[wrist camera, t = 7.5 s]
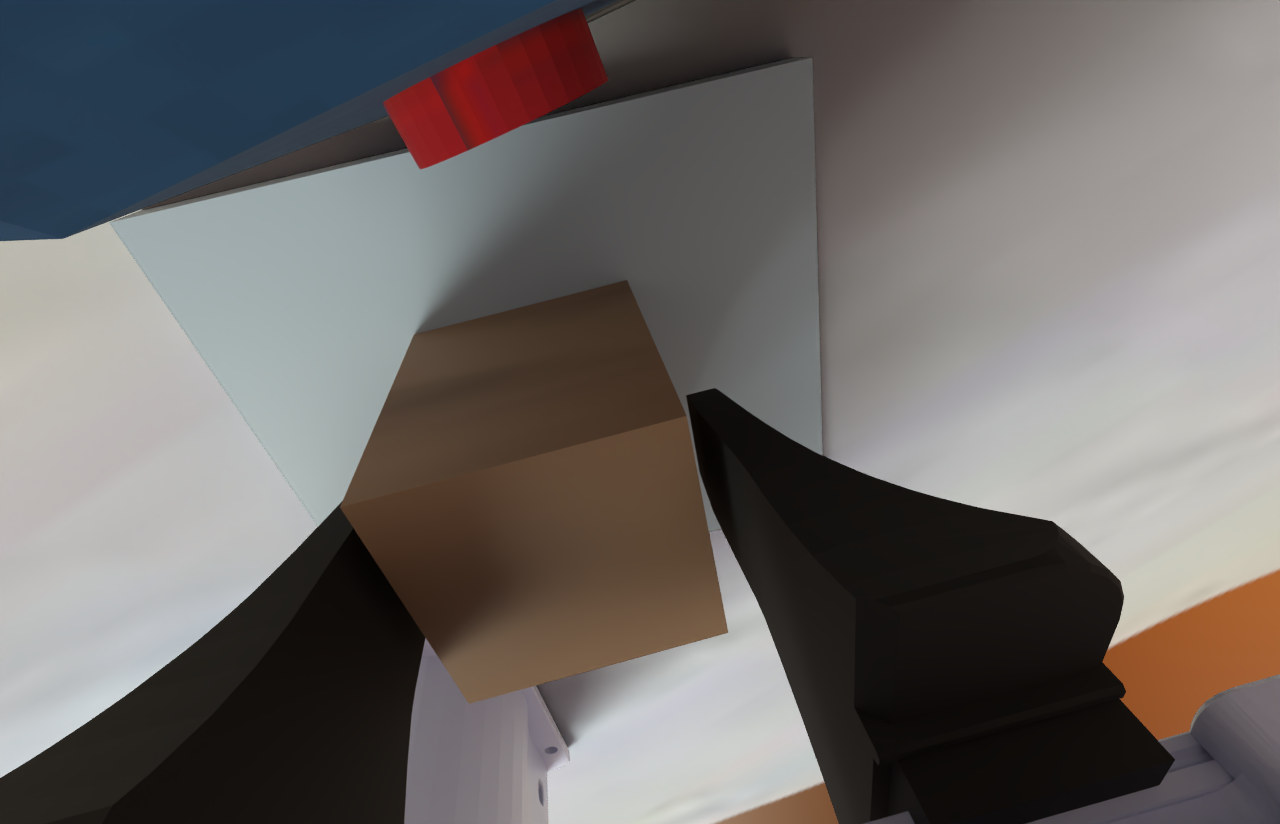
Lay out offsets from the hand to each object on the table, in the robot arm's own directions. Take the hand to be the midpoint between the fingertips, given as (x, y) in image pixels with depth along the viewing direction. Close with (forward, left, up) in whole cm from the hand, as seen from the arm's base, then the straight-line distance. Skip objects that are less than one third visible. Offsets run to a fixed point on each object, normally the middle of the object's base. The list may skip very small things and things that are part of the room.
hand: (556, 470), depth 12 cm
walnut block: (0, 0, -3) cm, 3 cm away
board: (0, 0, -4) cm, 4 cm away
